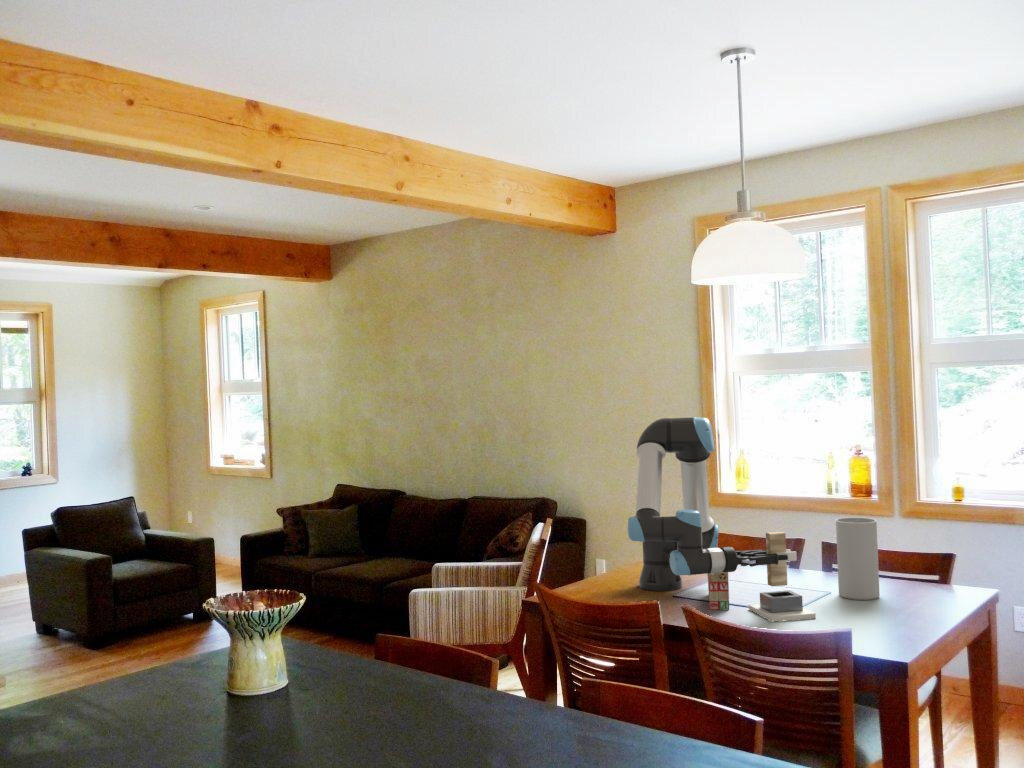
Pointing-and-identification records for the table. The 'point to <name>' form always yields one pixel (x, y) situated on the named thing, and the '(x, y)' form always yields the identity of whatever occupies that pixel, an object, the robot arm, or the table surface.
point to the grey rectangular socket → (781, 601)
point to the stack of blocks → (718, 591)
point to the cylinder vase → (857, 558)
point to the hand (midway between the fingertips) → (793, 554)
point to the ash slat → (778, 572)
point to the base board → (782, 614)
